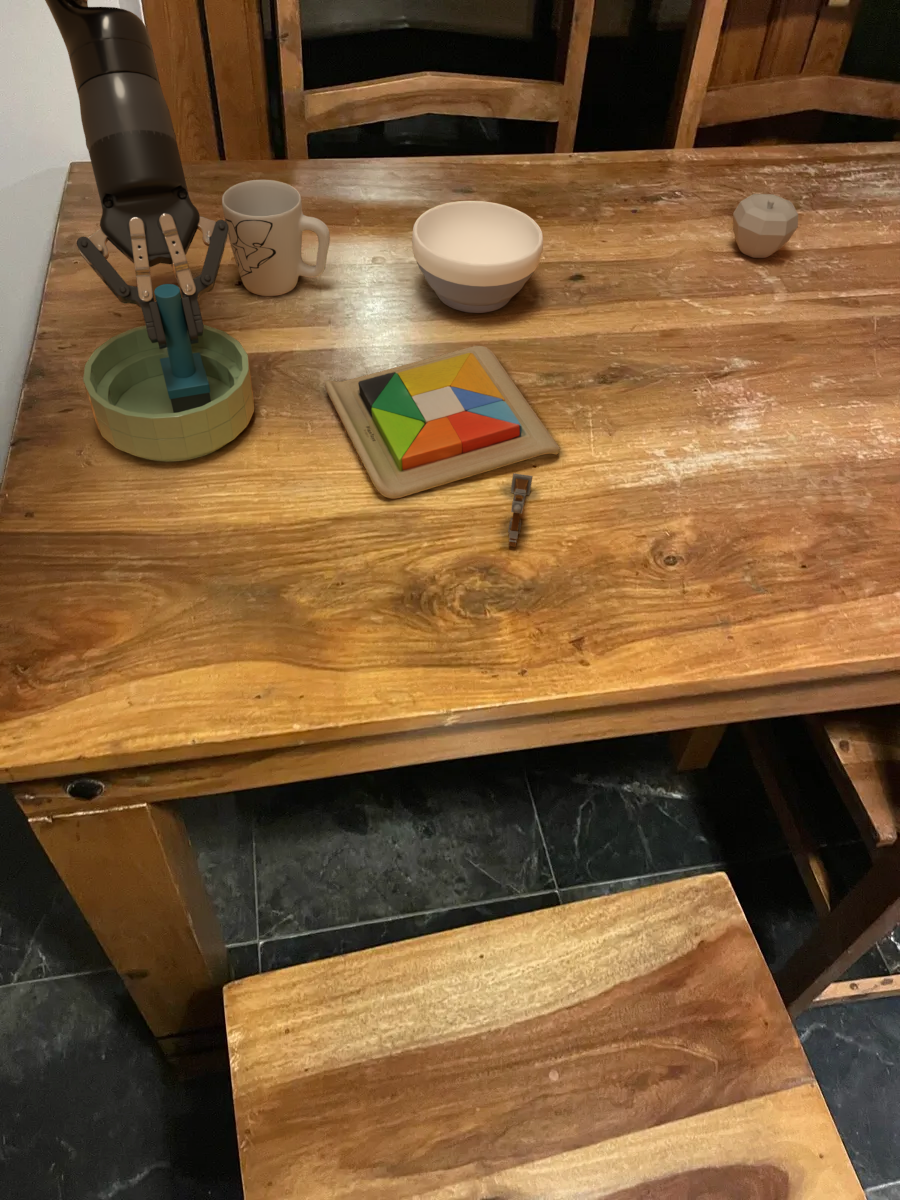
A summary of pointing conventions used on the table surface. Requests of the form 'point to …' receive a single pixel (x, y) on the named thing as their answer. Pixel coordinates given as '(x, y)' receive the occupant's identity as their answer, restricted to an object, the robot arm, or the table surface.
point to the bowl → (476, 253)
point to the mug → (271, 236)
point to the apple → (763, 224)
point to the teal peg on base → (180, 354)
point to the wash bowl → (167, 396)
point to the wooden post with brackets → (518, 504)
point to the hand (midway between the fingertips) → (179, 343)
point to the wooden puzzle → (438, 421)
